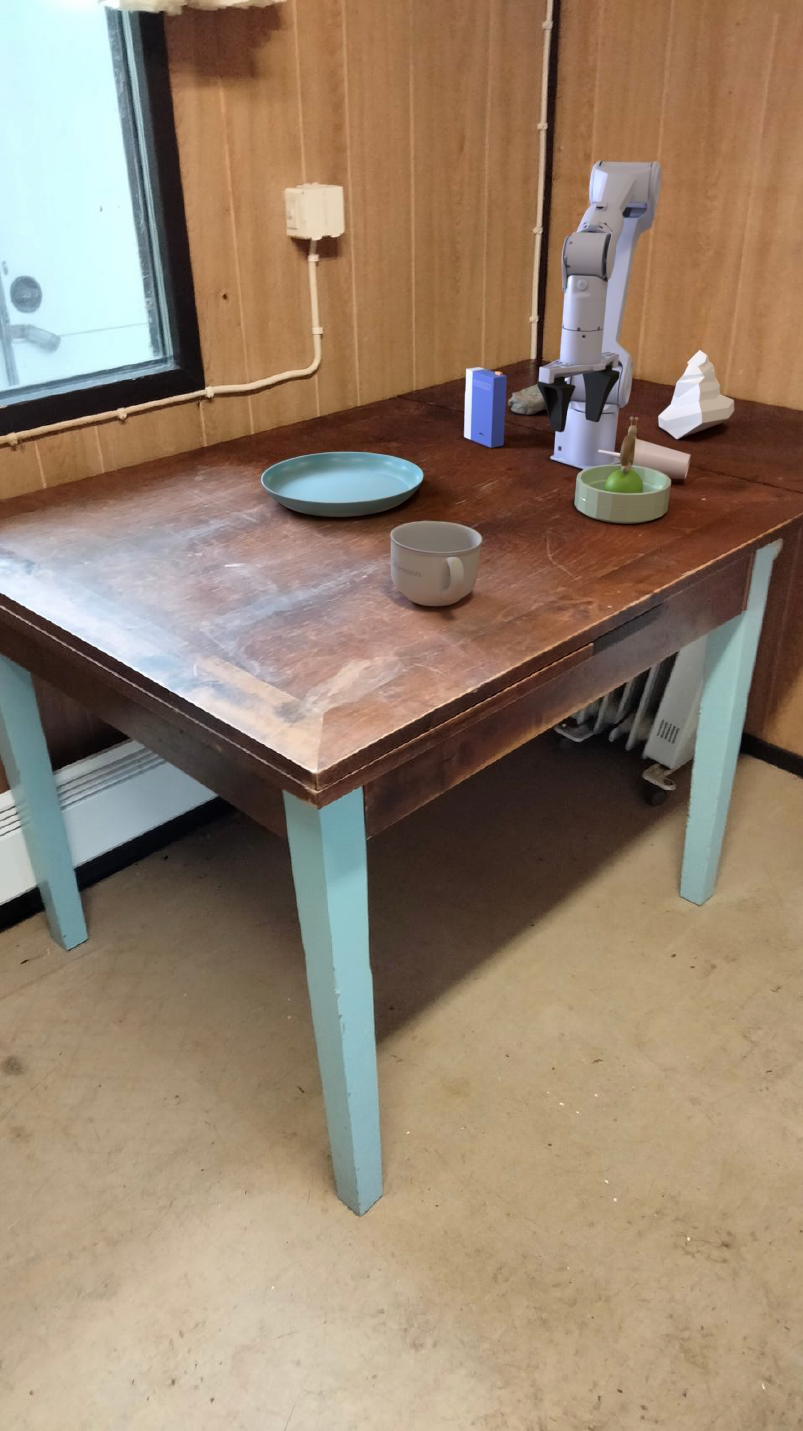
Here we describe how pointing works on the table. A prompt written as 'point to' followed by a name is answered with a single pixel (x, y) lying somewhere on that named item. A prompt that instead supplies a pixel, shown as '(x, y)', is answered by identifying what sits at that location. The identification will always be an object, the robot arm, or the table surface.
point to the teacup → (434, 561)
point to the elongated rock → (527, 401)
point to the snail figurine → (626, 467)
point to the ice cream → (696, 400)
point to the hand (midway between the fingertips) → (575, 425)
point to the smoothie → (658, 459)
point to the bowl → (622, 495)
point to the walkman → (485, 406)
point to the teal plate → (342, 483)
